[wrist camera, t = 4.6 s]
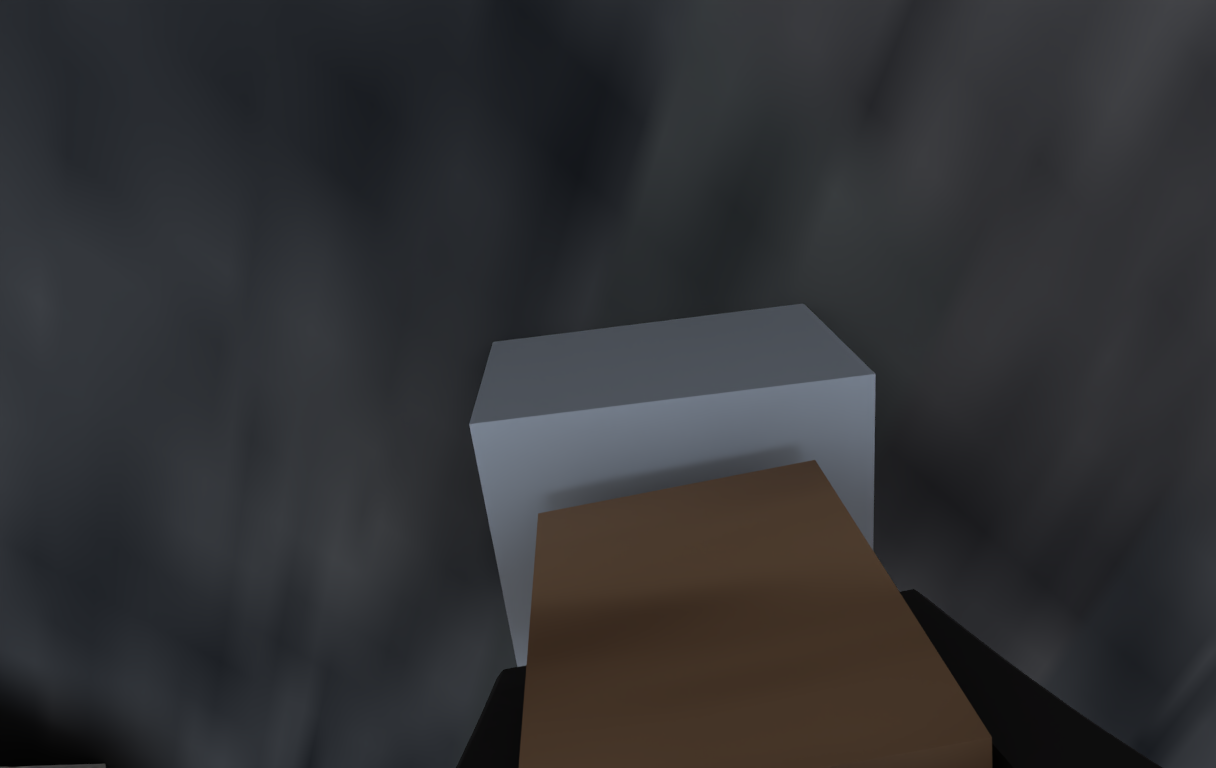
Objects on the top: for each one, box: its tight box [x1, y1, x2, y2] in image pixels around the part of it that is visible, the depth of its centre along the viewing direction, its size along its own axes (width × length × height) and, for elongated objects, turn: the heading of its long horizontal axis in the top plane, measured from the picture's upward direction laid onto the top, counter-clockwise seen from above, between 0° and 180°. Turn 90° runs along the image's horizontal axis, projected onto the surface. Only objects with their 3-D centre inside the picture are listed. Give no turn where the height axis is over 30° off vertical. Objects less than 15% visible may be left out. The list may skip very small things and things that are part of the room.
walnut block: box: [519, 460, 992, 768], centre depth 10 cm, size 4×4×5 cm
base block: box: [469, 303, 876, 667], centre depth 14 cm, size 6×6×4 cm
